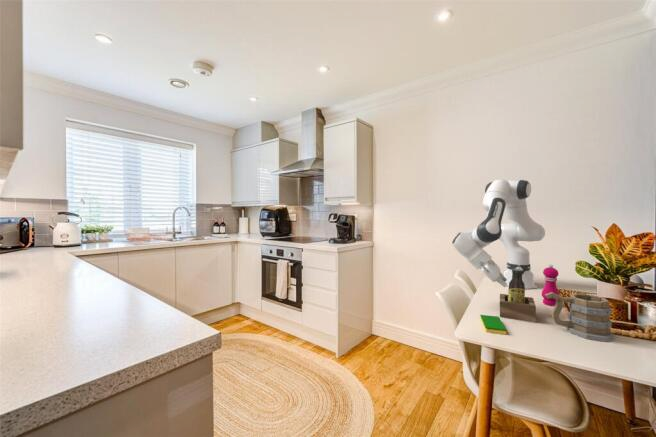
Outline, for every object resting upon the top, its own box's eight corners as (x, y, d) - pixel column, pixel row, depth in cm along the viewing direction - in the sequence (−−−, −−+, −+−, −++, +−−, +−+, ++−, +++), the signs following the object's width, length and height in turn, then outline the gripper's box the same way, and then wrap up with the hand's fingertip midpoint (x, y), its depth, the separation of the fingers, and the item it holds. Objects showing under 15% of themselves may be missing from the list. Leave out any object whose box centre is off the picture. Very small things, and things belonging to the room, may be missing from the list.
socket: (499, 307, 134) (499, 293, 133) (532, 312, 127) (532, 297, 126) (499, 316, 123) (499, 301, 122) (535, 322, 116) (535, 306, 115)
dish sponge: (485, 333, 109) (485, 327, 108) (480, 319, 121) (480, 314, 121) (506, 335, 106) (506, 329, 106) (498, 321, 119) (498, 316, 119)
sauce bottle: (509, 314, 123) (509, 270, 122) (506, 309, 129) (505, 267, 128) (527, 315, 121) (526, 271, 120) (522, 310, 127) (522, 268, 126)
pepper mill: (553, 301, 140) (553, 263, 139) (563, 306, 133) (564, 266, 132) (538, 301, 141) (538, 263, 140) (548, 306, 134) (548, 266, 133)
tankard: (602, 329, 108) (603, 292, 108) (619, 343, 97) (620, 302, 96) (540, 321, 117) (540, 287, 116) (549, 334, 106) (549, 295, 105)
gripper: (486, 260, 121) (512, 284, 116) (487, 253, 138) (511, 274, 134) (474, 269, 124) (500, 293, 119) (477, 261, 141) (500, 282, 136)
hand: (505, 283), depth 126 cm, fingers open, 8 cm apart
